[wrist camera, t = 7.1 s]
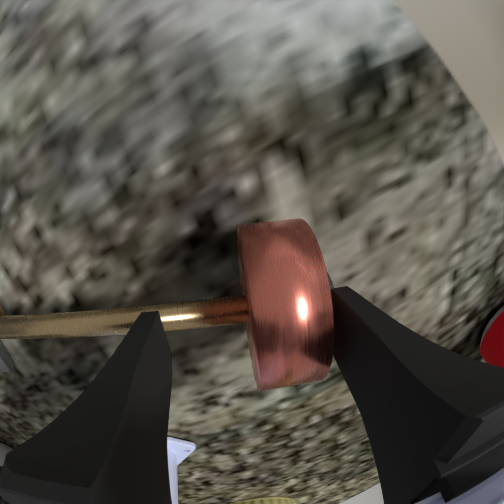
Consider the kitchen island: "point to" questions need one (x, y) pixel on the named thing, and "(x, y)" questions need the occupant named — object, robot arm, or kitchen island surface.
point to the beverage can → (494, 340)
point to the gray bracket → (5, 360)
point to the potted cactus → (267, 501)
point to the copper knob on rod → (236, 308)
